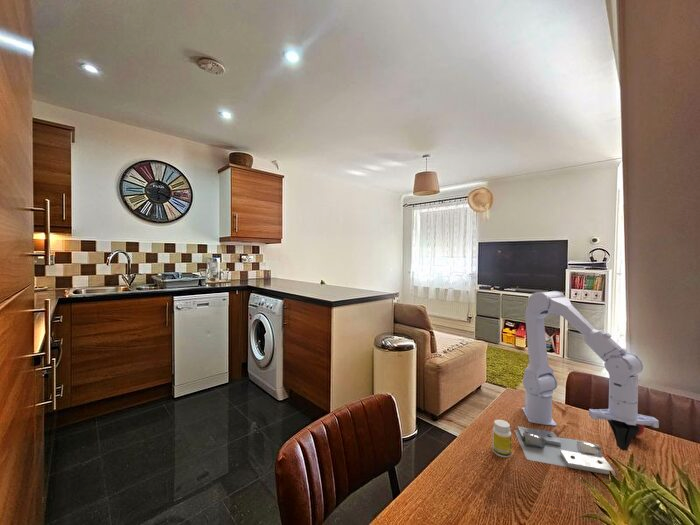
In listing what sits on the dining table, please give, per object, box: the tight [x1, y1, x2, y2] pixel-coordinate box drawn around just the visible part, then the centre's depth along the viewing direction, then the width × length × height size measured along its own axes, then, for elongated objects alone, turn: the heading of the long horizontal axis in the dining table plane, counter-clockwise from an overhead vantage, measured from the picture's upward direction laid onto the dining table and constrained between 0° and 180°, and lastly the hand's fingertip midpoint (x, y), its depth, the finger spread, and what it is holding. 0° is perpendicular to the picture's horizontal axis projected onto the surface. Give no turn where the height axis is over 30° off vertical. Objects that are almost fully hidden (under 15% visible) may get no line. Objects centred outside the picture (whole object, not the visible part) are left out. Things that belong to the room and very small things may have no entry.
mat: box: [513, 429, 617, 477], centre depth 84 cm, size 14×20×1 cm
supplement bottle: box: [491, 419, 512, 458], centre depth 83 cm, size 5×5×8 cm
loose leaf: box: [560, 440, 616, 476], centre depth 80 cm, size 9×10×3 cm
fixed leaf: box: [516, 426, 561, 448], centre depth 88 cm, size 9×11×3 cm
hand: (621, 448), depth 79 cm, fingers closed
